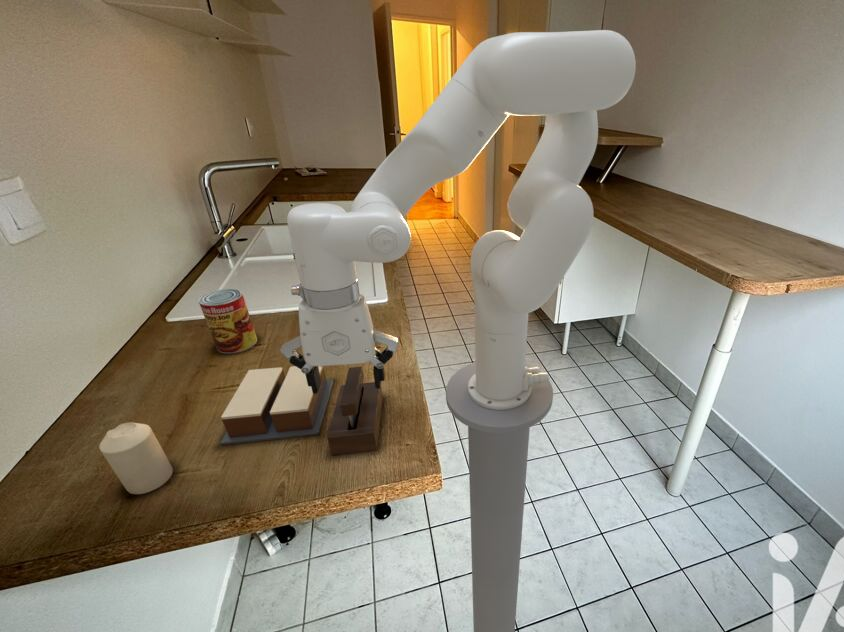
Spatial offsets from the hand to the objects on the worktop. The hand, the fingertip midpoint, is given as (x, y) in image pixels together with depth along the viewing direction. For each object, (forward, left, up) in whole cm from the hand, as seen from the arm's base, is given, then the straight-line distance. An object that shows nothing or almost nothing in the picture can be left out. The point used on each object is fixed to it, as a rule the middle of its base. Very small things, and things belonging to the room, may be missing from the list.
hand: (348, 385), depth 68 cm
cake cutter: (-1, 0, -9) cm, 9 cm away
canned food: (+29, -31, -9) cm, 44 cm away
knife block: (-1, 0, -9) cm, 9 cm away
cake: (+13, -6, -9) cm, 17 cm away
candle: (+28, +7, -9) cm, 31 cm away
